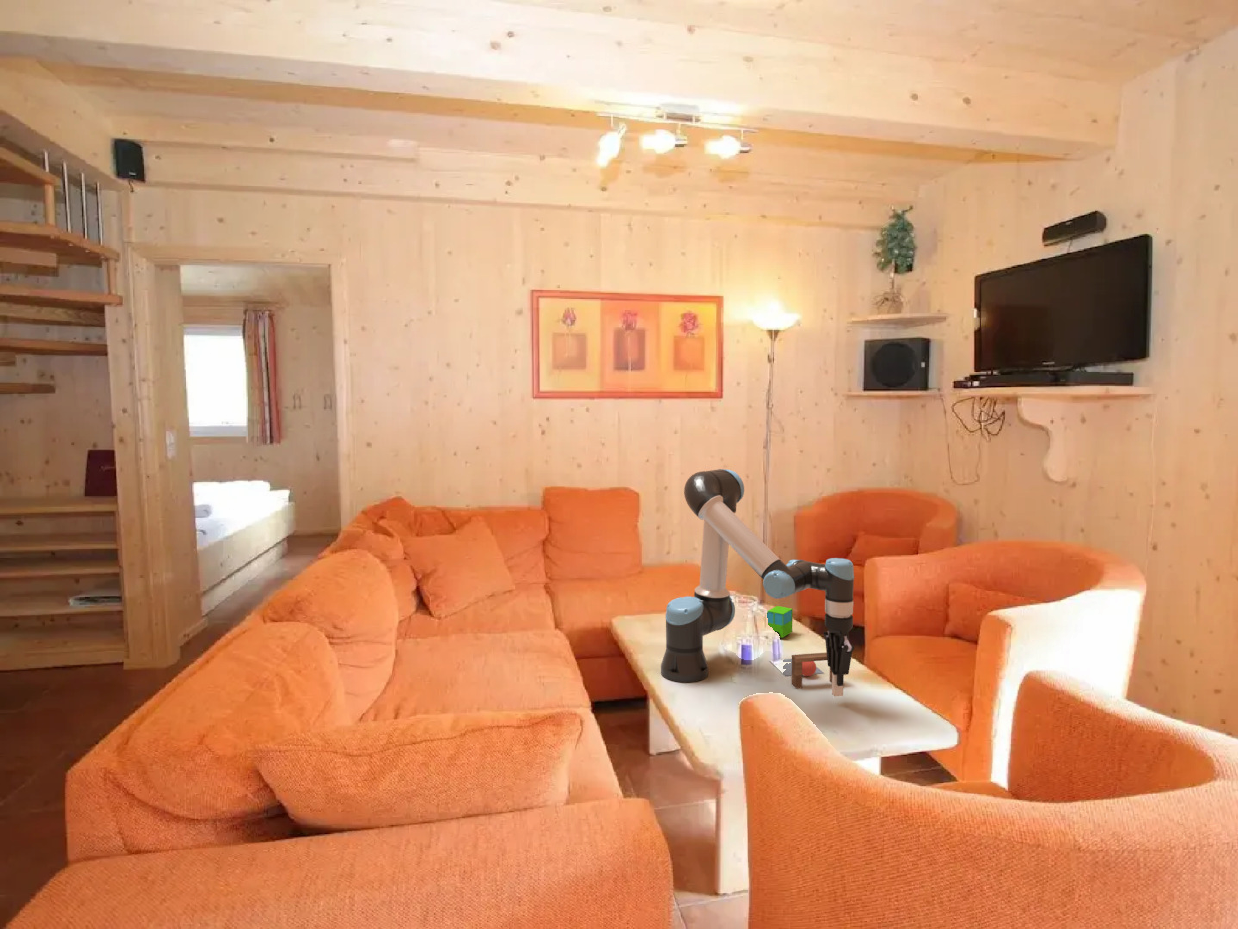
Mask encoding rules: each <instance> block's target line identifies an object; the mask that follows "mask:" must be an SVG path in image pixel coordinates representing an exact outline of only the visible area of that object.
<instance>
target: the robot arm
mask: <svg viewBox="0 0 1238 929" xmlns="http://www.w3.org/2000/svg"><path fill="white" fill-rule="evenodd" d="M683 488H684V489H683V494H684V495H683V496H684V498H685V503H686V504H687V506H688V507H689V509H690V510H691V511H692V512H693V514H694V515H696V517H698V519H700V520H702V521H703V528H702V544H701V545H702V546H701V558H700V560H701V561H700V574H699V585H697V586H696V587H695V588H694V594H693V596H684V597H683V596H680V597H677V598H674V599H671V600H670V601H669V602H668V604H667V605H666V610H665V651H664V655H663V658H662V661H661V663H660V674H661V676H662V677H664V678H665V679H667V680H670V681H673V682H677V683H693V682H698V681H702V680H705V679H706V678H707V677H708V675H709V665H708V662H707V659H706V655H705V653H704V648H703V647H704V645H703V644H704V643H703V642H704V638H703V637H704V636H707V635H710V634H711V633H713V632H716V631H721V630H723V629H724V628H726V627H727V626H729V625H730V624H731V623H732V621H733V620H734V617H735V614H736V606H735V602H733V598H732V597H731V596H730V595H731V594H730V590H728V589H727V584H726V583H727V572H728V559H729V547H731V548H732V549H733V550H734V551H735V552H736V553H737V554H738V555H739V556H740V557H741V559H743V560H744V562H746V563H747V565H748V566H749V567H750V568H751V569H752V570H753V571H754V572H755V573H757V575H758V576H759V577H760V578H761V579H762V580H763V581H762V586H763V589H764V592H765V593H766V594H767V596H769V597H771V598H772V599H783V598H787V597H791V595H794V594H797V593H799V592H802V591H805V590H807V589H813V590H817V591H818V590H819V591H823V592H825V594H824V597H825V598H824V612H825V614H824V626H825V627H826V628H827V629H828V630H827V631H825V630H824V631H823V636H824V640H825V641H824V642H825V650H826V652H827V660H826V662H827V667H829V668H830V667H831V671H832V683H831V695H832V696H833V697H844V676H846V675H849V674H850V673H849V672H850V668H851V662H852V655H853V651H854V650H855V645H854V644H851V643H850V641H849V640H850V636H849V632H850V631H851V630H853V628H854V627H853V626H854V616H853V614H854V589H855V588H854V585H855V582H854V581H855V572H854V570H855V569H854V564H853V562H852V561H851V559H847V558H843V557H842V558H840V557H834V558H833V557H831V558H828V559H826V561H825V563H819V562H813V561H808V560H805V559H790V560H788V562H787V563H786V564H785V562H784V561H782V560H781V559H780V557H778V556H777V555H776V554H775V553H774V552H773V551H772V549H770V548H769V546H767V545H766V544H765V543H764V542H763V541H762V540H761V538H759V537H758V536H757V534H756V533H754V532H753V531H752V530H751V528H749V526H747V525H746V524H745V522H743V520H741V519H740V518H739V517H738V515H736V513H737V504H738V503H739V502H740V501H741V500H742V499H743V497H744V495H745V485H744V481H743V479H742V478H741V476H740V475H739V474H738V473H737V472H736V471H734V470H732V469H723V468H722V469H721V468H718V469H713V470H712V469H711V470H706V471H705V470H704V471H703V470H702V471H698V472H695V473H694V474H691V475H690V476H689V478H687V481H686V482H685V484H684V487H683ZM826 652H825V653H826Z"/></svg>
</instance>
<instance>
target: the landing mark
mask: <svg viewBox="0 0 1238 929" xmlns="http://www.w3.org/2000/svg"><path fill="white" fill-rule="evenodd" d="M783 662H791V663H789V664H788V663H786V664H785V665H784V666H783V669H786V670H785V671H784V672H783V674H782V675H783V676H784V675H785V676H784V677H792V658H785V659H784V660H783ZM820 674H821V675H822V674H825V673H824V671H823V670H821V669H820V668H819V667H817V666H816V671H815V673H814V674H813V675H820Z"/></svg>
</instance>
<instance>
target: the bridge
mask: <svg viewBox="0 0 1238 929" xmlns="http://www.w3.org/2000/svg"><path fill="white" fill-rule="evenodd" d="M791 659H792V676H791V679H790V680H791V682H790V683H791V684H790V685H791V686H792V687H793V688H795V689H802V688H803V675H802V662H810V661H814V662H821V661H823V662H824V661H827V652H816V653H812V652H811V653H805V654H804V653H803V654H802V653H801V654H791ZM829 682H830V684H832V671H831V667H829Z"/></svg>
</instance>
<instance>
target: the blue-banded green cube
mask: <svg viewBox="0 0 1238 929" xmlns="http://www.w3.org/2000/svg"><path fill="white" fill-rule="evenodd" d="M793 612H794V610H793V608H791V607H785V606H780V605H775V607H772V608H771V609H769V610H767V611H766V614H767V618H768V625H769V626H770V627H772V628H773V630H774V631H775V632H777V633H778V634H779V636H780V639H781V638H782V639H783V638H784V637H787V636H788V635H790V634H791V633H792V632H793Z"/></svg>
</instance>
